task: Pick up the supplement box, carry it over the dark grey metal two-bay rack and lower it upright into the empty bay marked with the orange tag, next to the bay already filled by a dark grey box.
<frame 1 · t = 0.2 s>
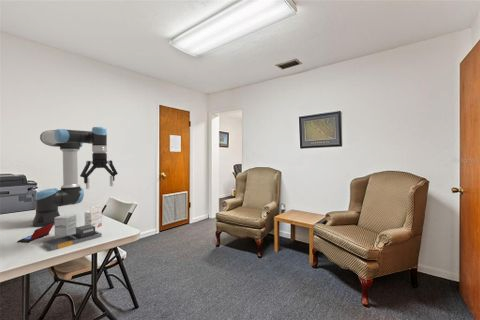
hand: (100, 187, 137), 27 cm above the table, fingers open, 13 cm apart
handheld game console: (36, 239, 127), on the table
supplement box: (65, 237, 129), on the table
dark grey box: (85, 237, 127), resting on rack
rack: (73, 241, 122), on the table
ink cartridge box: (93, 229, 144), on the table
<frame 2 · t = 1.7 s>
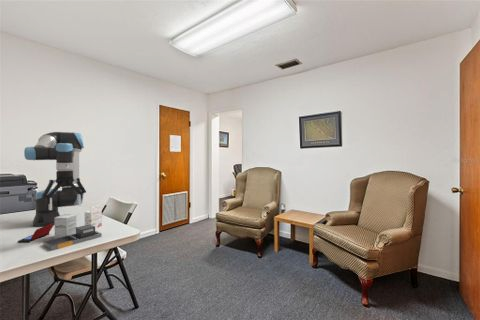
hand: (65, 207, 128), 17 cm above the table, fingers open, 13 cm apart
nothing on the table moved.
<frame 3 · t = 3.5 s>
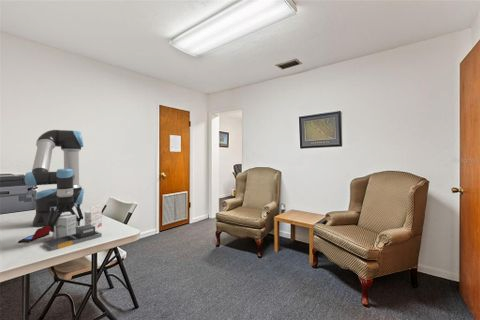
hand: (65, 234, 129), 2 cm above the table, fingers closed on supplement box, 10 cm apart
supplement box: (65, 237, 129), on the table, touching gripper
everything else where it was.
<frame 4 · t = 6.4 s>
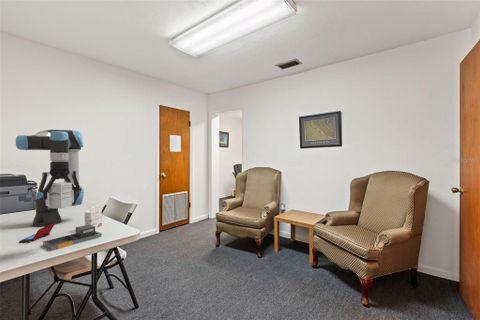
hand: (60, 203, 117), 22 cm above the table, fingers closed on supplement box, 10 cm apart
supplement box: (60, 207, 117), point 20 cm above the table, touching gripper
everything else where it was.
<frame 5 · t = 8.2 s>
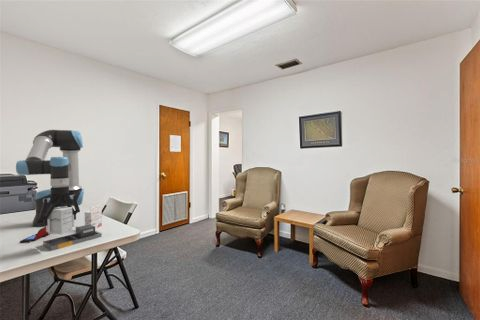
hand: (60, 228, 117), 9 cm above the table, fingers closed on supplement box, 10 cm apart
supplement box: (60, 232, 118), point 7 cm above the table, touching gripper
when the fingers open (4 cm above the table, at t = 9.5 s): supplement box drops 2 cm, resting on rack.
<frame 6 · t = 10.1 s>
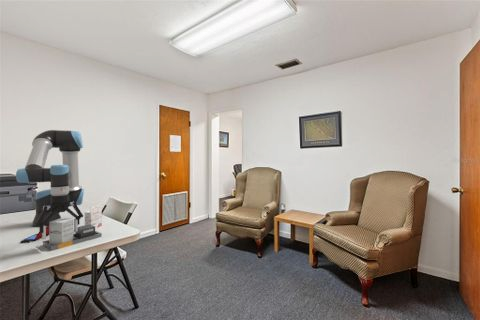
hand: (60, 234, 118), 6 cm above the table, fingers open, 13 cm apart
supplement box: (61, 244, 118), resting on rack
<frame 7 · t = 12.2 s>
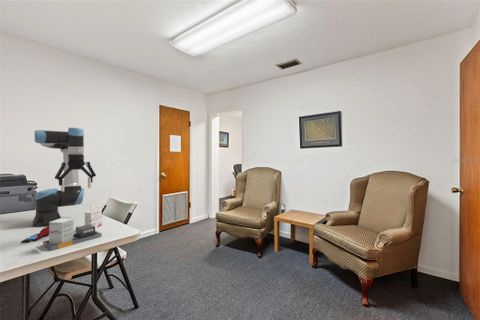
hand: (76, 189, 134), 27 cm above the table, fingers open, 13 cm apart
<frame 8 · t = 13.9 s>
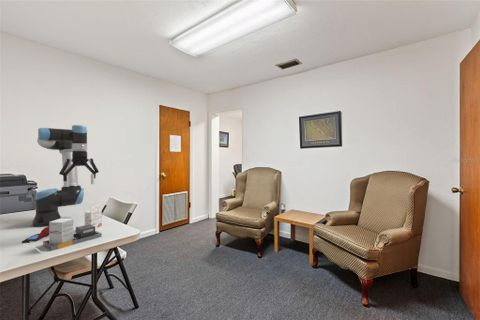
hand: (80, 185, 138), 29 cm above the table, fingers open, 13 cm apart
at the end: supplement box inside the target area on the rack (0.5 cm from its centre), point 0.4 cm above the rack's base; supplement box tilted 0°; the gripper is holding nothing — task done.
